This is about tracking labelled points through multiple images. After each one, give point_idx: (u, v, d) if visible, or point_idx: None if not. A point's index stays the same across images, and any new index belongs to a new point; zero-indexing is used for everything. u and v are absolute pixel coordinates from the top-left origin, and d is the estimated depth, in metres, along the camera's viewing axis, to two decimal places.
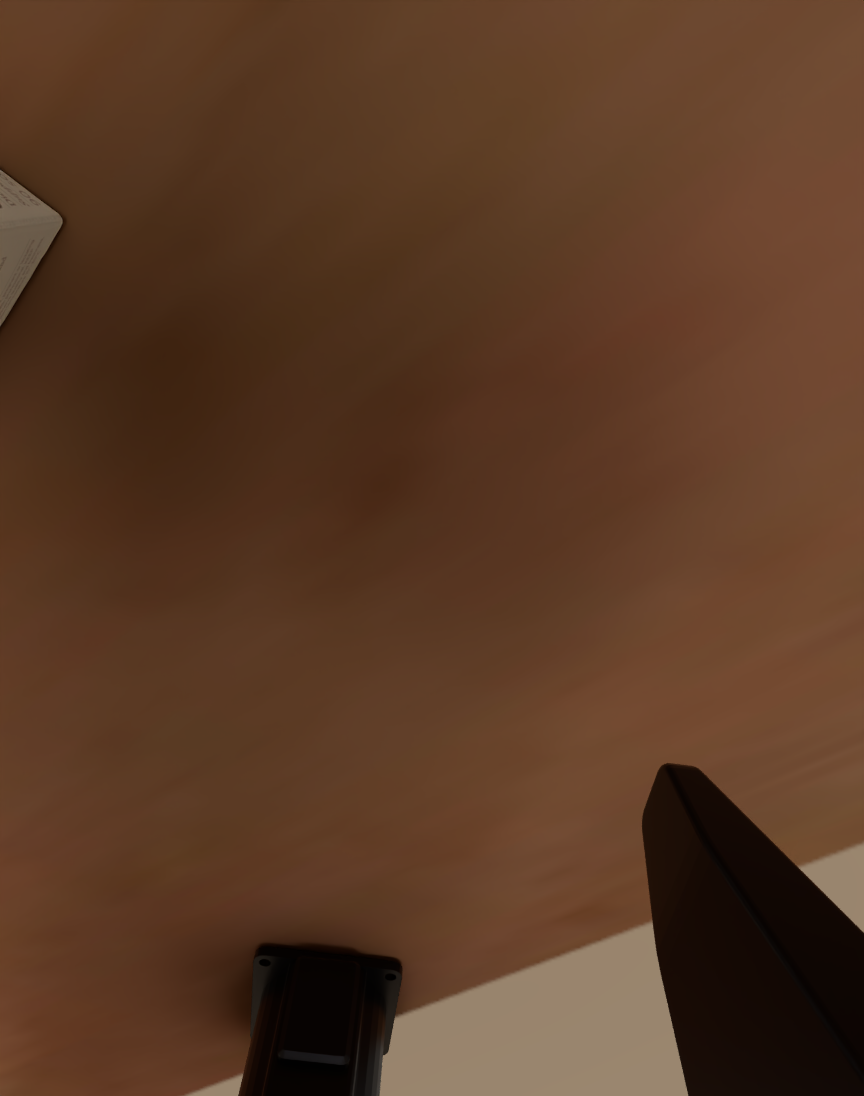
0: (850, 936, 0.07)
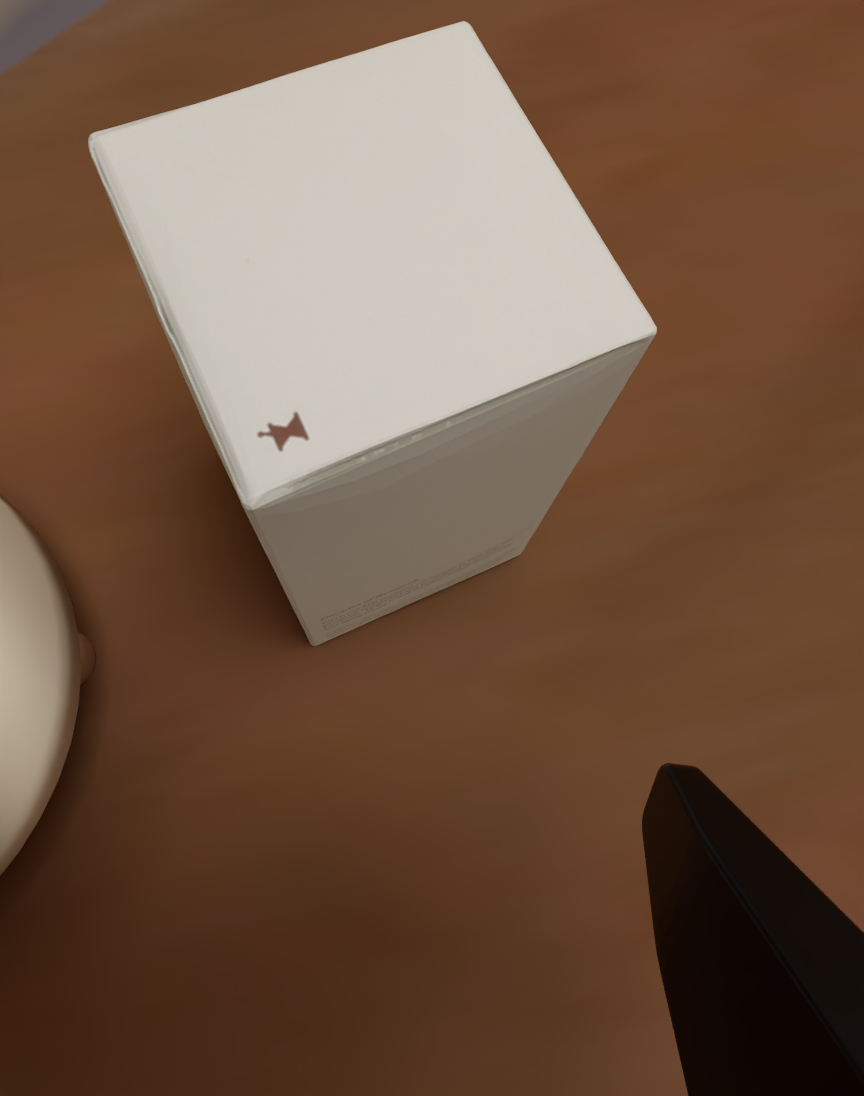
0: (850, 936, 0.07)
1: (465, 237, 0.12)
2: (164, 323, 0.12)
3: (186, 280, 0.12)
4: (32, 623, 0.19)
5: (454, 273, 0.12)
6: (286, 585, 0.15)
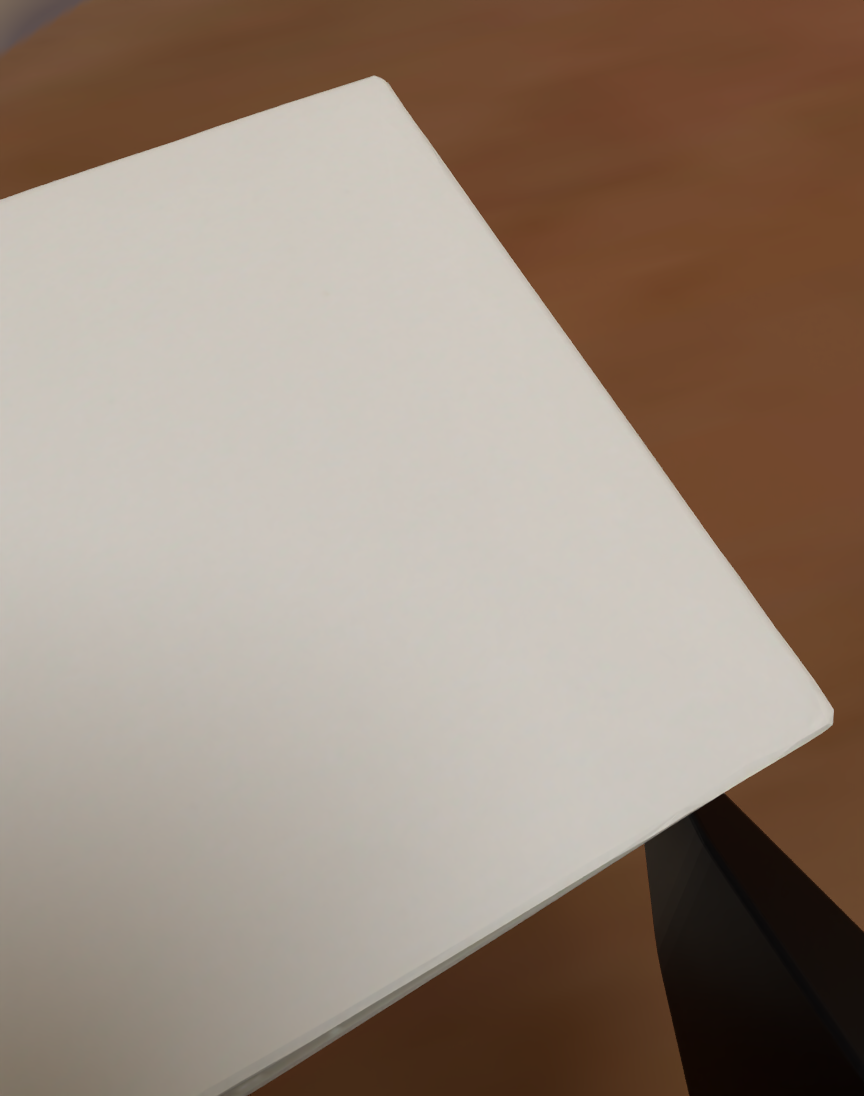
0: (851, 936, 0.07)
1: (375, 518, 0.05)
2: None
3: None
4: None
5: (347, 609, 0.05)
6: None
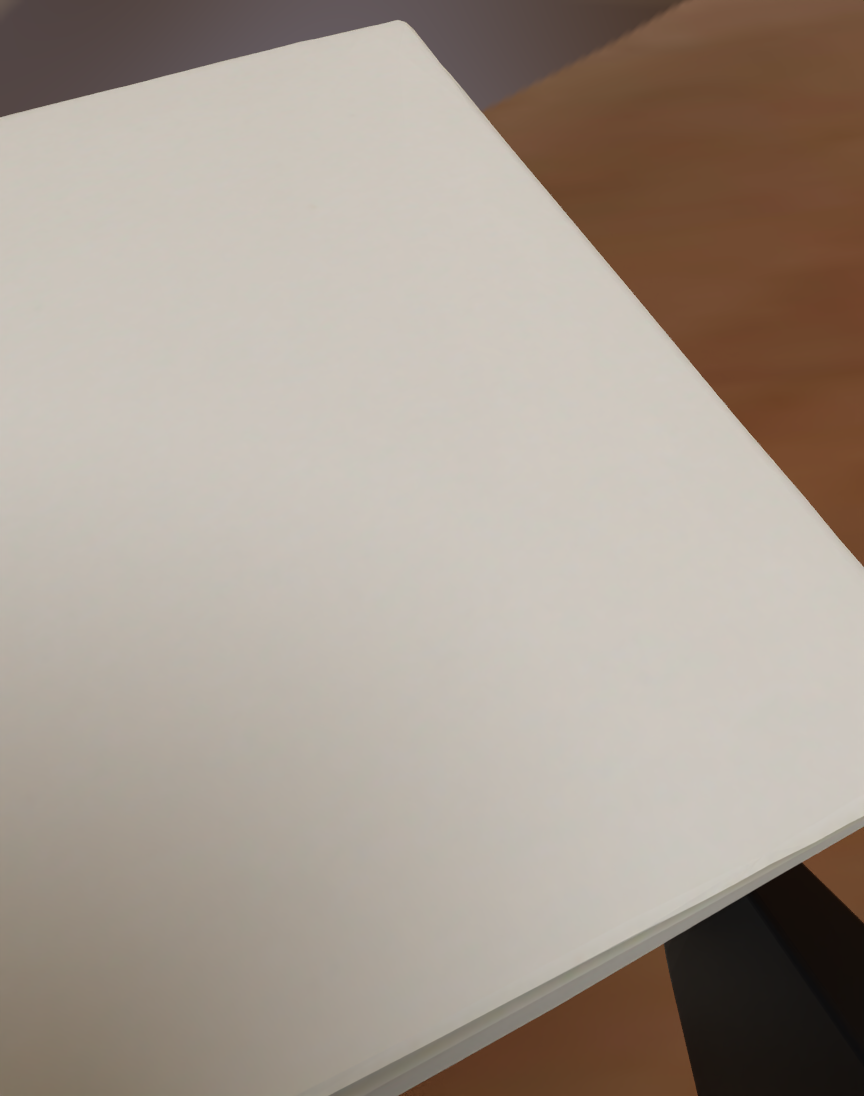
0: (861, 937, 0.07)
1: (339, 440, 0.04)
2: None
3: None
4: None
5: (287, 550, 0.04)
6: None
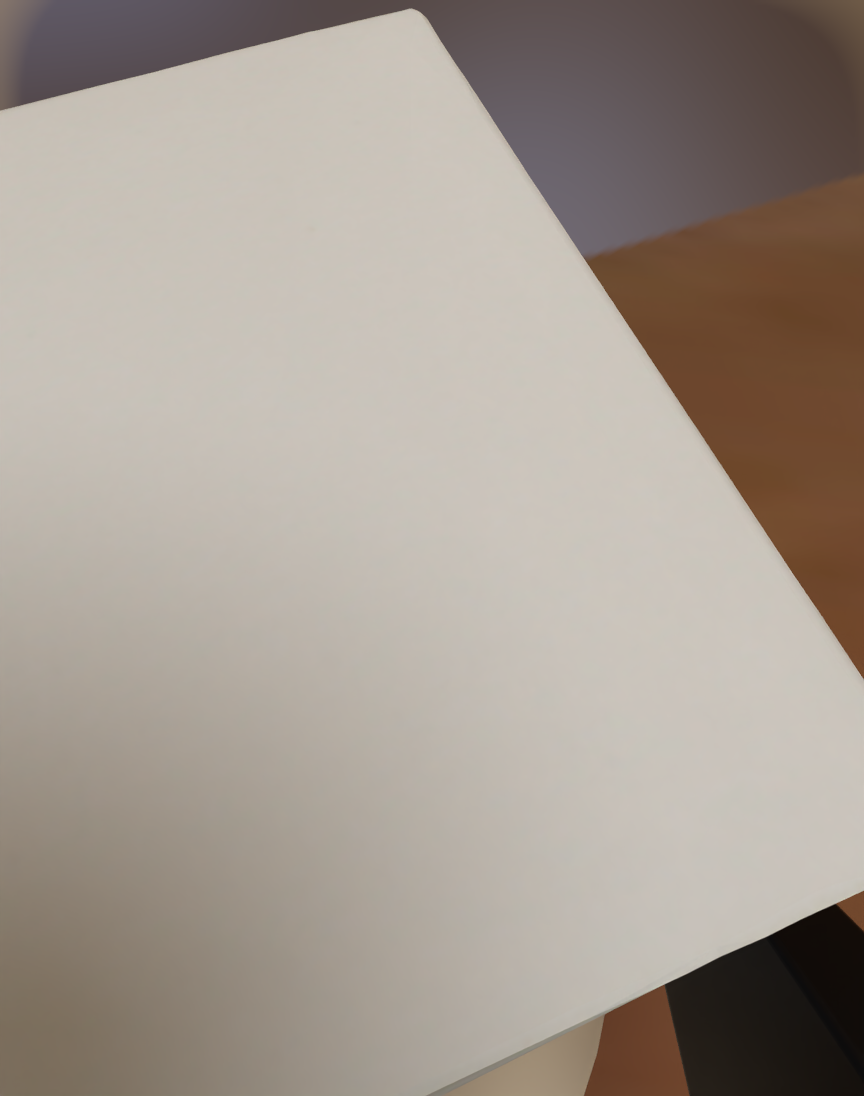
0: (852, 936, 0.07)
1: (326, 496, 0.04)
2: None
3: None
4: None
5: (269, 609, 0.04)
6: None
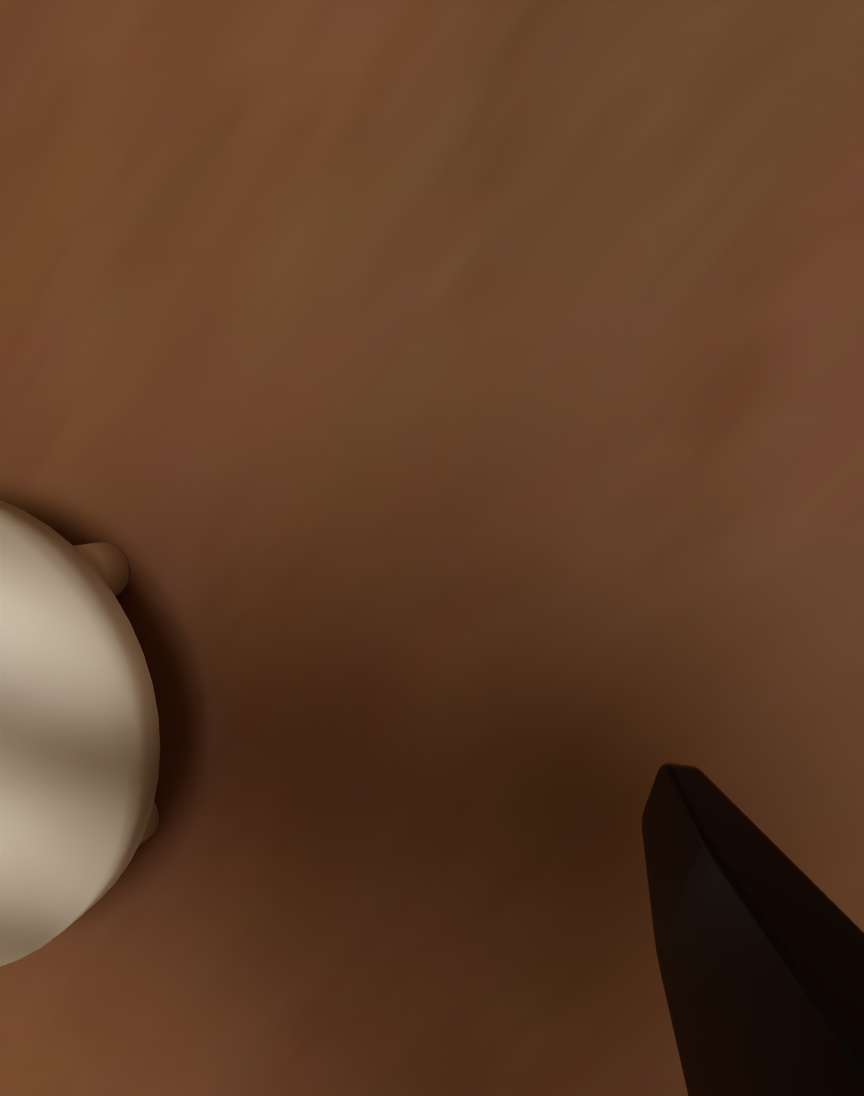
0: (850, 936, 0.07)
1: None
2: None
3: None
4: (19, 561, 0.20)
5: None
6: None
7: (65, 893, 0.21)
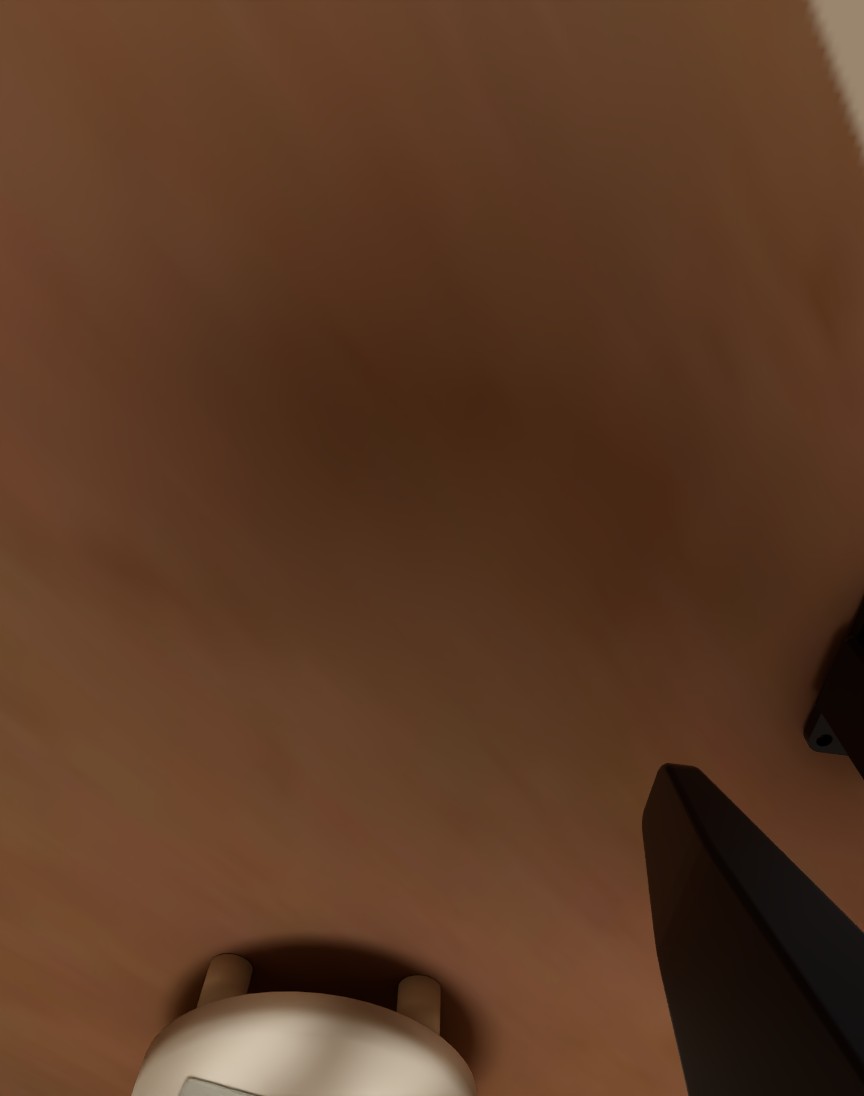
0: (850, 936, 0.07)
1: None
2: None
3: None
4: (184, 1060, 0.28)
5: None
6: None
7: (428, 1085, 0.29)
